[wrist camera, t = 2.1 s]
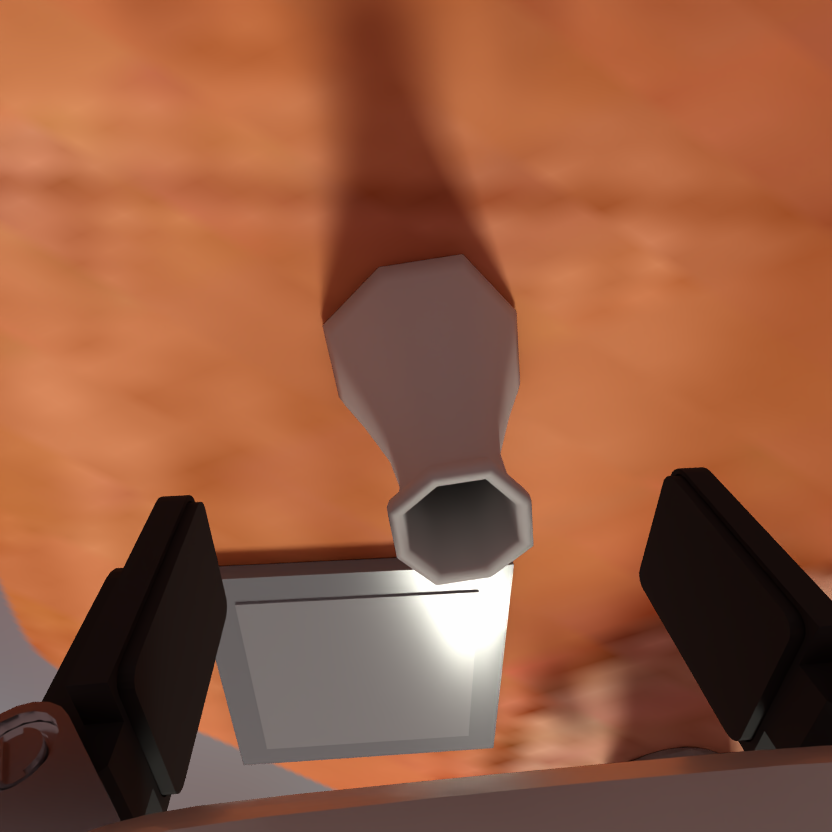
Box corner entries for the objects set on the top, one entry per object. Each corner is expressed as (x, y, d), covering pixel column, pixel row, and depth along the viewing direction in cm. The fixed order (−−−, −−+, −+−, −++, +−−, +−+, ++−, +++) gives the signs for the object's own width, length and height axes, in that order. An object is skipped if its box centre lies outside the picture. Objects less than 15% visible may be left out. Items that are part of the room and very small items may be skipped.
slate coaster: (510, 552, 26) (514, 566, 25) (490, 734, 33) (493, 749, 32) (199, 567, 25) (194, 582, 24) (246, 750, 32) (243, 767, 31)
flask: (548, 388, 22) (665, 575, 13) (383, 462, 23) (391, 681, 14) (475, 214, 19) (567, 312, 10) (287, 312, 20) (220, 477, 11)
